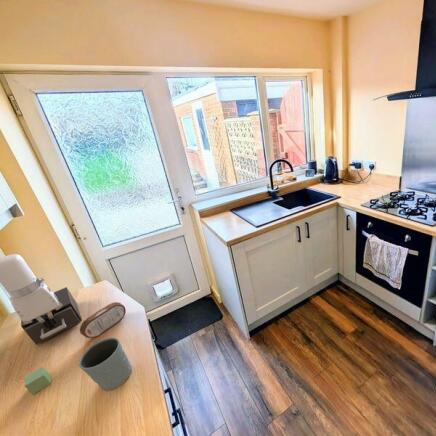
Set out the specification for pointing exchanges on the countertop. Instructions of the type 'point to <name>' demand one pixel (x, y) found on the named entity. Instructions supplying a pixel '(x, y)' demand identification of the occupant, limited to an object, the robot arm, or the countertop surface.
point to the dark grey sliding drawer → (41, 333)
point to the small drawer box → (65, 300)
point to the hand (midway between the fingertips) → (52, 326)
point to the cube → (37, 380)
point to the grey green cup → (106, 364)
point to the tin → (102, 320)
